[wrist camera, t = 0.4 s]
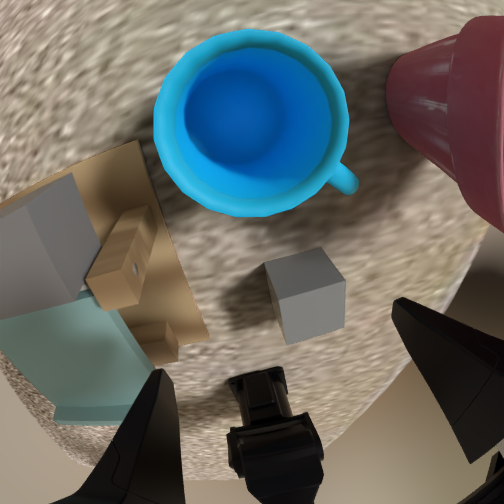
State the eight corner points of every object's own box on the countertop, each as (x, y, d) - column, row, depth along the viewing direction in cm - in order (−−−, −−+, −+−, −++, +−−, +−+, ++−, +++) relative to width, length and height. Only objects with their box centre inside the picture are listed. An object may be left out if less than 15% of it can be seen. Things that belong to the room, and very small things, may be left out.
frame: (209, 334, 26) (218, 416, 19) (65, 359, 25) (47, 424, 18) (138, 139, 17) (91, 168, 9) (-23, 218, 16) (-79, 271, 8)
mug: (151, 143, 17) (120, 170, 10) (211, 40, 14) (219, -3, 7) (297, 214, 22) (342, 272, 15) (352, 127, 19) (425, 148, 12)
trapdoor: (174, 374, 21) (175, 426, 17) (67, 386, 21) (57, 428, 16) (71, 172, 12) (25, 204, 8) (-38, 234, 12) (-75, 270, 8)
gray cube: (323, 291, 26) (344, 327, 22) (272, 306, 26) (286, 345, 22) (320, 246, 24) (345, 280, 19) (263, 261, 23) (278, 300, 19)
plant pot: (409, 207, 23) (510, 284, 12) (321, 81, 17) (464, 78, 6) (482, 123, 20) (577, 160, 9) (421, 5, 13) (537, -5, 2)
